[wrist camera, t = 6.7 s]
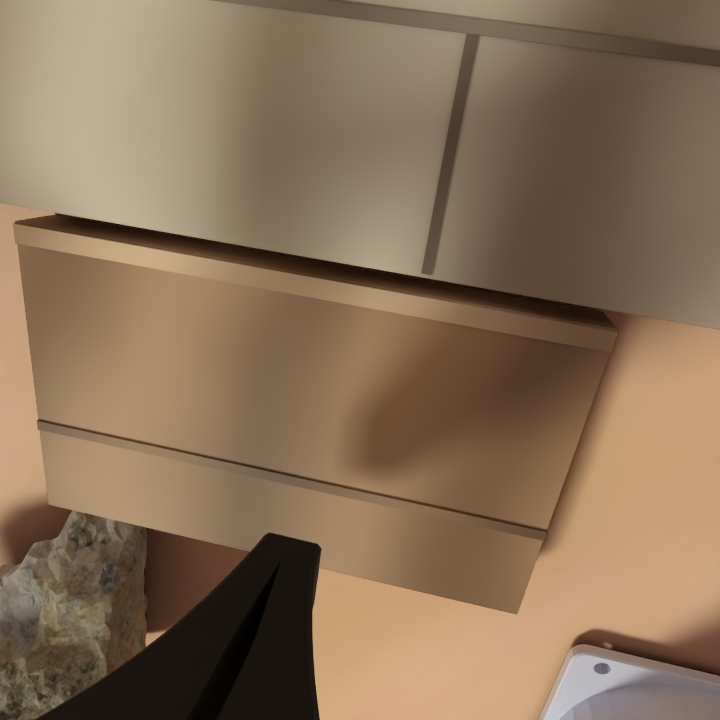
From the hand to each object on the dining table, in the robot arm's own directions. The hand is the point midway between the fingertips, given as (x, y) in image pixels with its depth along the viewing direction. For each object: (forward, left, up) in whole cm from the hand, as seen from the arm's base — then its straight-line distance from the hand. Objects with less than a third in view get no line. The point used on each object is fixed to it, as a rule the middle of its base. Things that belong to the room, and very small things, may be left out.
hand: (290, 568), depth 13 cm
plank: (+1, -2, -4) cm, 5 cm away
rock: (+9, +8, -4) cm, 13 cm away
